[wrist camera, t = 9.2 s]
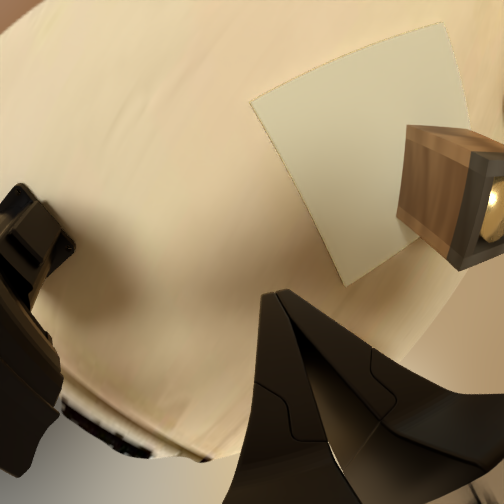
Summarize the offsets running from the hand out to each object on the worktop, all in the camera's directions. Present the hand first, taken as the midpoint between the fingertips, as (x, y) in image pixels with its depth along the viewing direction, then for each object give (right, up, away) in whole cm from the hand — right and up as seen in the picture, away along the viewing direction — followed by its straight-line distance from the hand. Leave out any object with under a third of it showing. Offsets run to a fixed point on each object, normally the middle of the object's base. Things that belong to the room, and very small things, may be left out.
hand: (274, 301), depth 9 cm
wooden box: (+15, +9, +13) cm, 22 cm away
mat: (+11, +9, +12) cm, 19 cm away
